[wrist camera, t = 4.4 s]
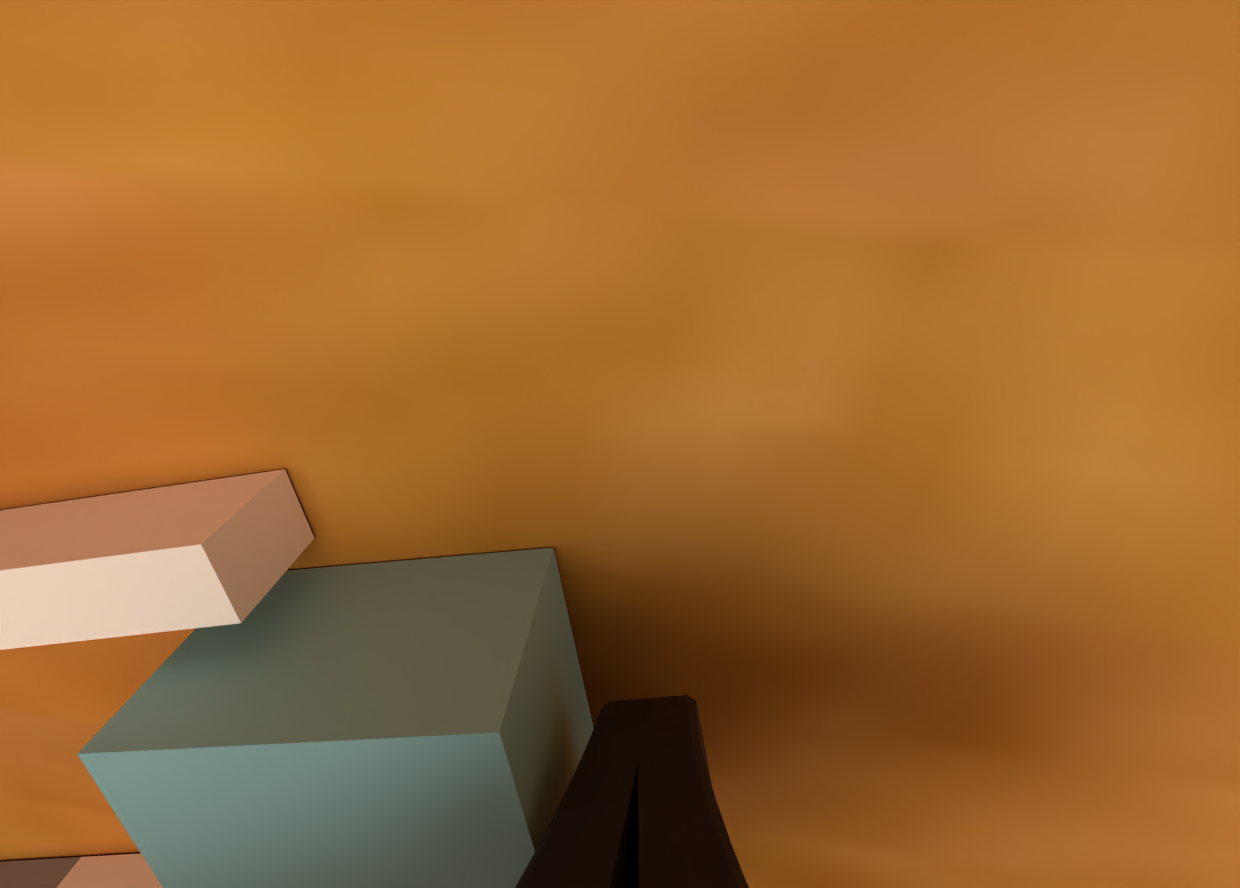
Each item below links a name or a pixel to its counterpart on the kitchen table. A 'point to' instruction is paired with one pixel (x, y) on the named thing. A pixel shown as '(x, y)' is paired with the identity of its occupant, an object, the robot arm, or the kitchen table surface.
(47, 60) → the kitchen table surface
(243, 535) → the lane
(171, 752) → the block
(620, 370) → the kitchen table surface
